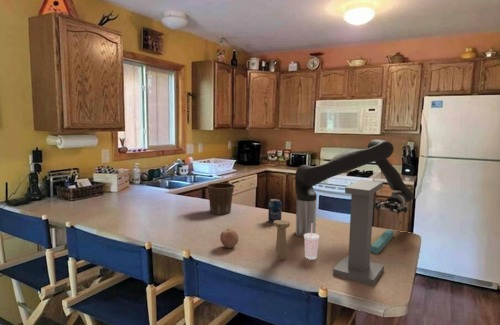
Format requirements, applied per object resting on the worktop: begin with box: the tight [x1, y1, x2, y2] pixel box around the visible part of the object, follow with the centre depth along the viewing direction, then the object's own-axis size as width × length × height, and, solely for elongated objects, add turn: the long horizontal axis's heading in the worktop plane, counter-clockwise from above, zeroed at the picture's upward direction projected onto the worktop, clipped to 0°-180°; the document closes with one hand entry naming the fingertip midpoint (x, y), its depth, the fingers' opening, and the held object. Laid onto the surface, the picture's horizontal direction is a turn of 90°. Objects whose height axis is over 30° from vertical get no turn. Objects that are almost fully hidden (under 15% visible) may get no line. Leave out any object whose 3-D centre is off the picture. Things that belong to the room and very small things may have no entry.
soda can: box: [267, 198, 283, 224], centre depth 178 cm, size 7×7×12 cm
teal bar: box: [371, 229, 395, 255], centre depth 148 cm, size 26×3×3 cm, turn 144°
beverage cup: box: [303, 223, 320, 260], centre depth 132 cm, size 6×6×14 cm
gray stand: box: [332, 179, 385, 286], centre depth 119 cm, size 18×14×32 cm
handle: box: [272, 219, 291, 261], centre depth 130 cm, size 5×6×15 cm
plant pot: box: [206, 182, 235, 216], centre depth 195 cm, size 16×16×16 cm
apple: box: [219, 227, 239, 249], centre depth 142 cm, size 8×8×8 cm
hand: (387, 209), depth 151 cm, fingers open, 8 cm apart
